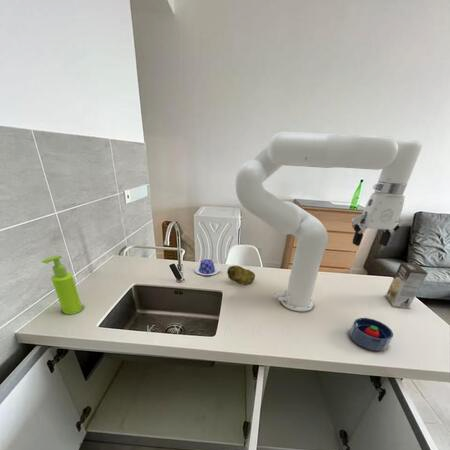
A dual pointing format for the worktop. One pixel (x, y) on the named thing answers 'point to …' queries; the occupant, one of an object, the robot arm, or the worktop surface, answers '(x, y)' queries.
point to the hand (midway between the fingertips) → (369, 244)
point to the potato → (240, 275)
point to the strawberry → (372, 331)
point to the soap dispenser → (64, 286)
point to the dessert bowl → (367, 340)
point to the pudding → (206, 268)
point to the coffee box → (406, 284)
